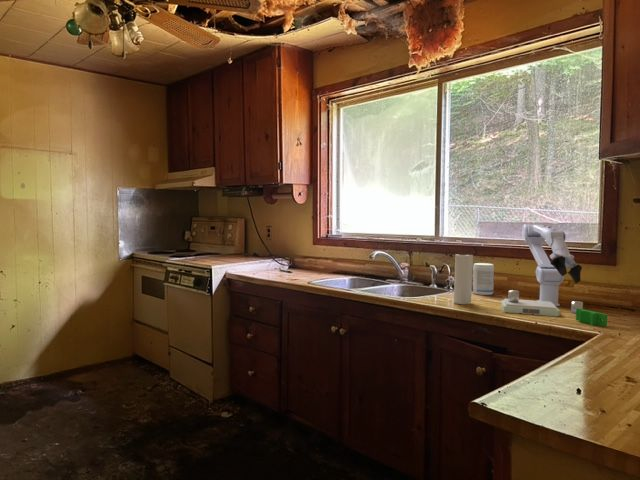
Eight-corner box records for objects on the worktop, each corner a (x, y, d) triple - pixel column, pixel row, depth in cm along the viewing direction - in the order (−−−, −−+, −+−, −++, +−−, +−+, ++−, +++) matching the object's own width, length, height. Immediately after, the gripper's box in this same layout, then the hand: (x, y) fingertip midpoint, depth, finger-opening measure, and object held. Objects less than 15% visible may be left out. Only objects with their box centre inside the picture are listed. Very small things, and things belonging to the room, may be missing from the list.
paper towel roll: (453, 304, 202) (455, 254, 201) (454, 301, 208) (455, 253, 207) (470, 305, 200) (472, 255, 199) (471, 302, 206) (473, 254, 204)
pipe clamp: (571, 321, 175) (571, 308, 175) (577, 320, 176) (578, 308, 176) (600, 327, 165) (600, 314, 164) (606, 327, 166) (607, 314, 166)
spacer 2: (570, 311, 191) (570, 300, 191) (581, 312, 190) (581, 301, 190) (572, 313, 187) (572, 302, 187) (583, 314, 186) (583, 303, 186)
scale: (501, 305, 201) (501, 297, 201) (552, 309, 195) (553, 301, 195) (503, 312, 187) (503, 304, 187) (559, 316, 181) (559, 308, 181)
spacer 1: (507, 300, 195) (508, 289, 195) (518, 301, 194) (518, 290, 194) (508, 302, 192) (508, 291, 191) (518, 303, 190) (519, 292, 190)
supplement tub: (497, 294, 228) (498, 264, 227) (483, 296, 223) (484, 265, 222) (482, 291, 236) (483, 262, 235) (468, 292, 232) (469, 263, 231)
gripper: (556, 240, 190) (566, 265, 180) (581, 254, 194) (592, 279, 185) (542, 250, 194) (551, 275, 185) (567, 263, 199) (577, 288, 189)
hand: (571, 278), depth 185 cm, fingers open, 7 cm apart
